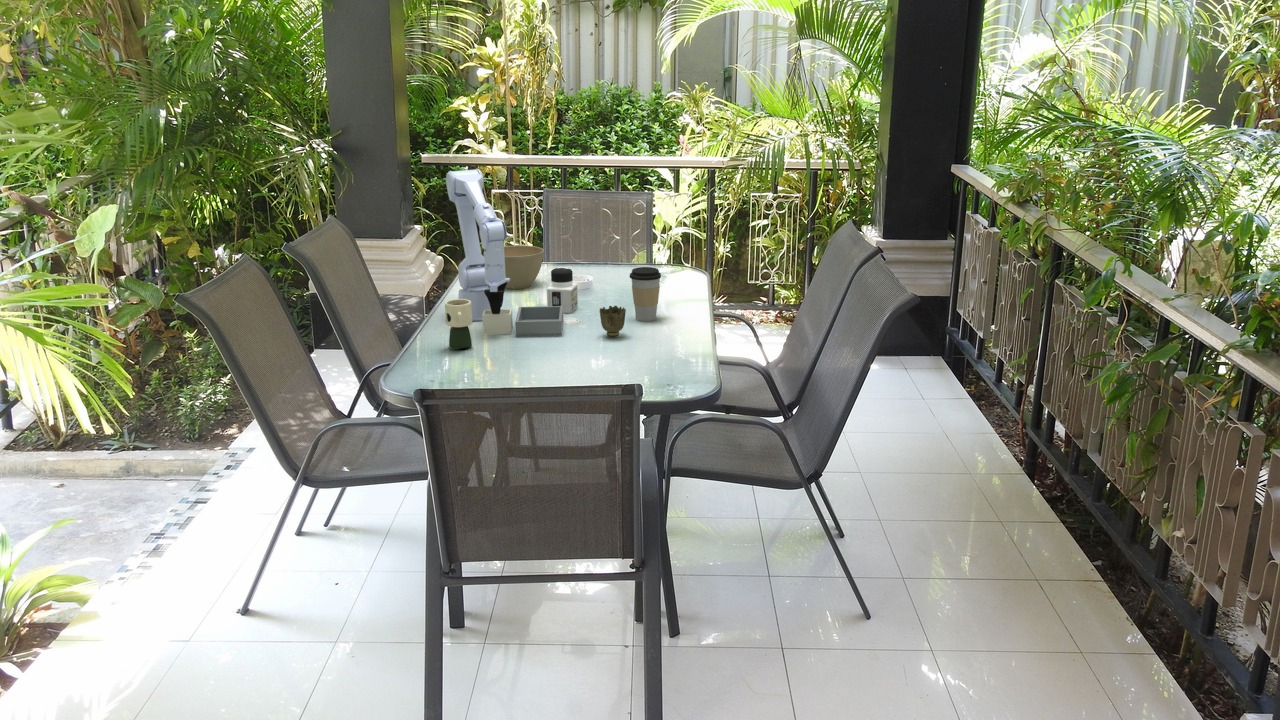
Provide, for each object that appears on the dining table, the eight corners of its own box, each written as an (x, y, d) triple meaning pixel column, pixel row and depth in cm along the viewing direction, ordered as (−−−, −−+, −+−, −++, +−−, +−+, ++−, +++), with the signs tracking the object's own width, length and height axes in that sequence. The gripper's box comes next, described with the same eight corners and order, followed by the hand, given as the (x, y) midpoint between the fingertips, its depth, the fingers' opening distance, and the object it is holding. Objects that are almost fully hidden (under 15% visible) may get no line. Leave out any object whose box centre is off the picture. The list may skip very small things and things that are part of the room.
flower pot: (555, 283, 361) (554, 248, 357) (522, 295, 347) (520, 258, 343) (513, 277, 370) (512, 242, 367) (479, 288, 356) (477, 252, 352)
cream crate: (483, 334, 305) (482, 314, 304) (485, 329, 311) (484, 309, 309) (511, 334, 306) (510, 314, 304) (512, 329, 311) (511, 309, 309)
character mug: (446, 343, 298) (443, 297, 294) (472, 341, 299) (469, 296, 295) (448, 354, 288) (445, 308, 284) (475, 352, 289) (472, 306, 285)
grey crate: (515, 337, 303) (515, 321, 301) (519, 321, 318) (519, 306, 316) (561, 336, 303) (561, 320, 302) (563, 320, 318) (563, 306, 317)
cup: (606, 341, 298) (606, 313, 295) (595, 334, 304) (595, 307, 302) (630, 337, 301) (630, 310, 299) (619, 331, 307) (618, 304, 305)
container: (571, 313, 325) (570, 272, 321) (547, 312, 327) (545, 271, 323) (578, 307, 333) (577, 266, 328) (554, 306, 334) (552, 265, 330)
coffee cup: (666, 316, 321) (666, 268, 317) (653, 324, 313) (653, 274, 309) (637, 313, 325) (637, 265, 320) (624, 321, 317) (623, 272, 312)
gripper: (506, 269, 295) (509, 316, 299) (510, 258, 309) (513, 303, 313) (481, 269, 295) (484, 317, 299) (486, 258, 309) (488, 304, 313)
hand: (497, 310), depth 306 cm, fingers open, 7 cm apart
